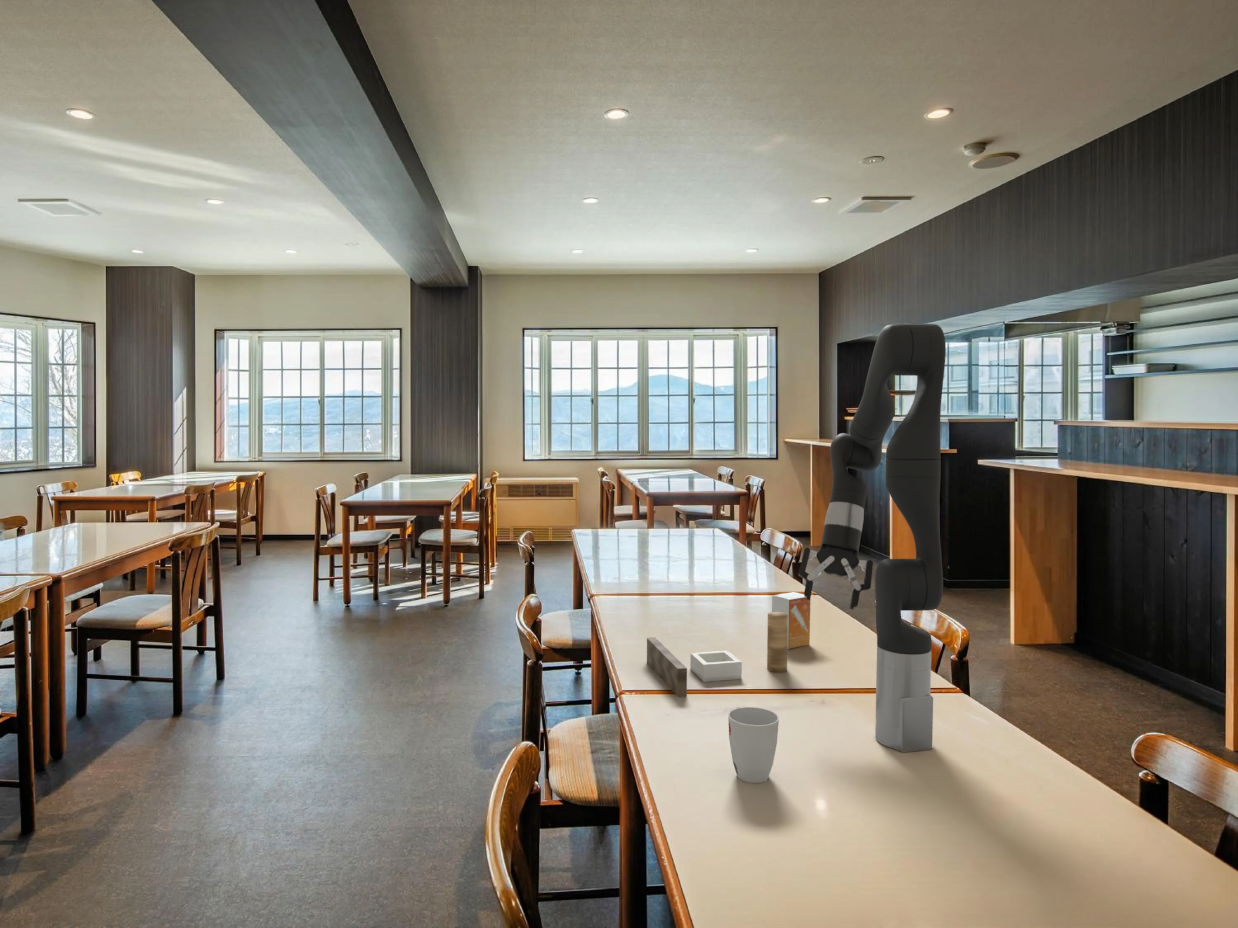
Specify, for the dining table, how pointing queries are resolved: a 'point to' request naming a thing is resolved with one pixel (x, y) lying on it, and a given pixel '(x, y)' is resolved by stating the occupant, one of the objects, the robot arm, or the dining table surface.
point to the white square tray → (715, 666)
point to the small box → (794, 617)
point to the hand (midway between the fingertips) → (829, 604)
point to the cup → (753, 742)
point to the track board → (667, 666)
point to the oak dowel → (777, 642)
